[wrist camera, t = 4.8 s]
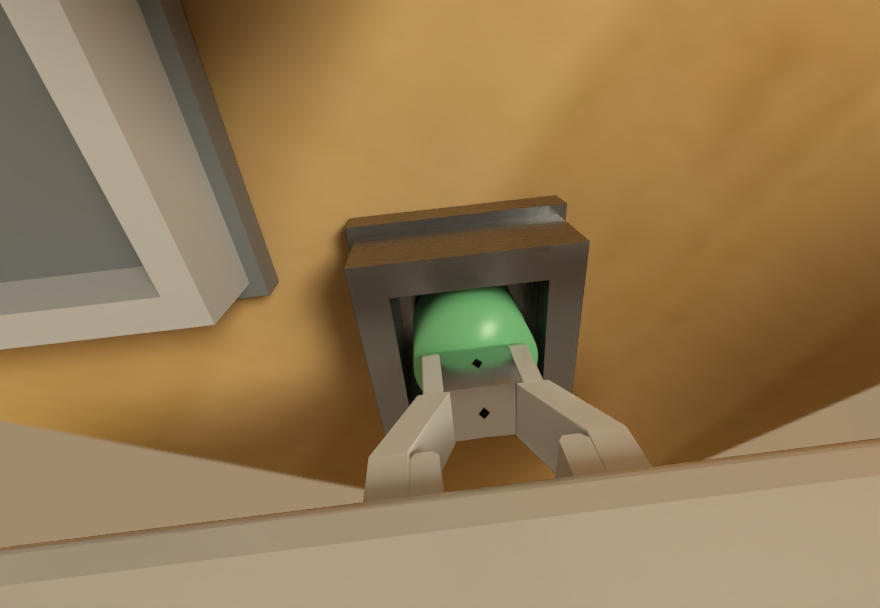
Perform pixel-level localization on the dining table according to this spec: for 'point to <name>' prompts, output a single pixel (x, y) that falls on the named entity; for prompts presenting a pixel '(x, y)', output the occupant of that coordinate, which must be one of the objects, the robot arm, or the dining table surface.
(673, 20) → the dining table surface
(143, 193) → the square shallow tray
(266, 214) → the dining table surface
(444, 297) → the button
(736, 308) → the dining table surface
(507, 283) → the button housing
